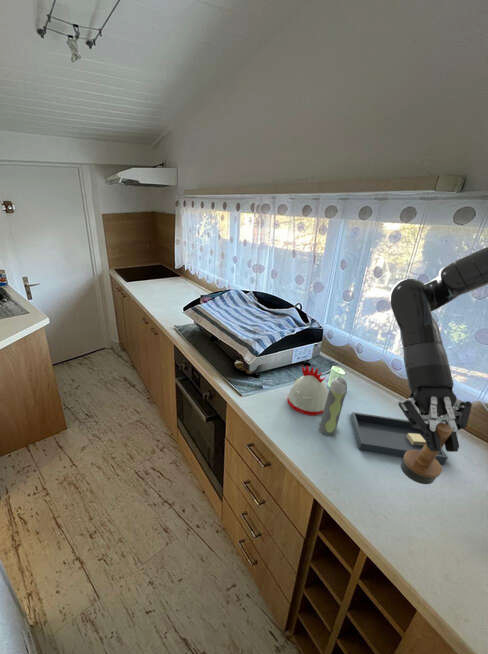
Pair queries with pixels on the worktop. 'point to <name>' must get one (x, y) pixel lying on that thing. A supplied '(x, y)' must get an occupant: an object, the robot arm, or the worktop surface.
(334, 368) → the light green cylinder
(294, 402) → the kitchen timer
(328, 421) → the grey green rod
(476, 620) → the worktop surface
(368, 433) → the tray
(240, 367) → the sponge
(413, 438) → the cream flat block
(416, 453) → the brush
